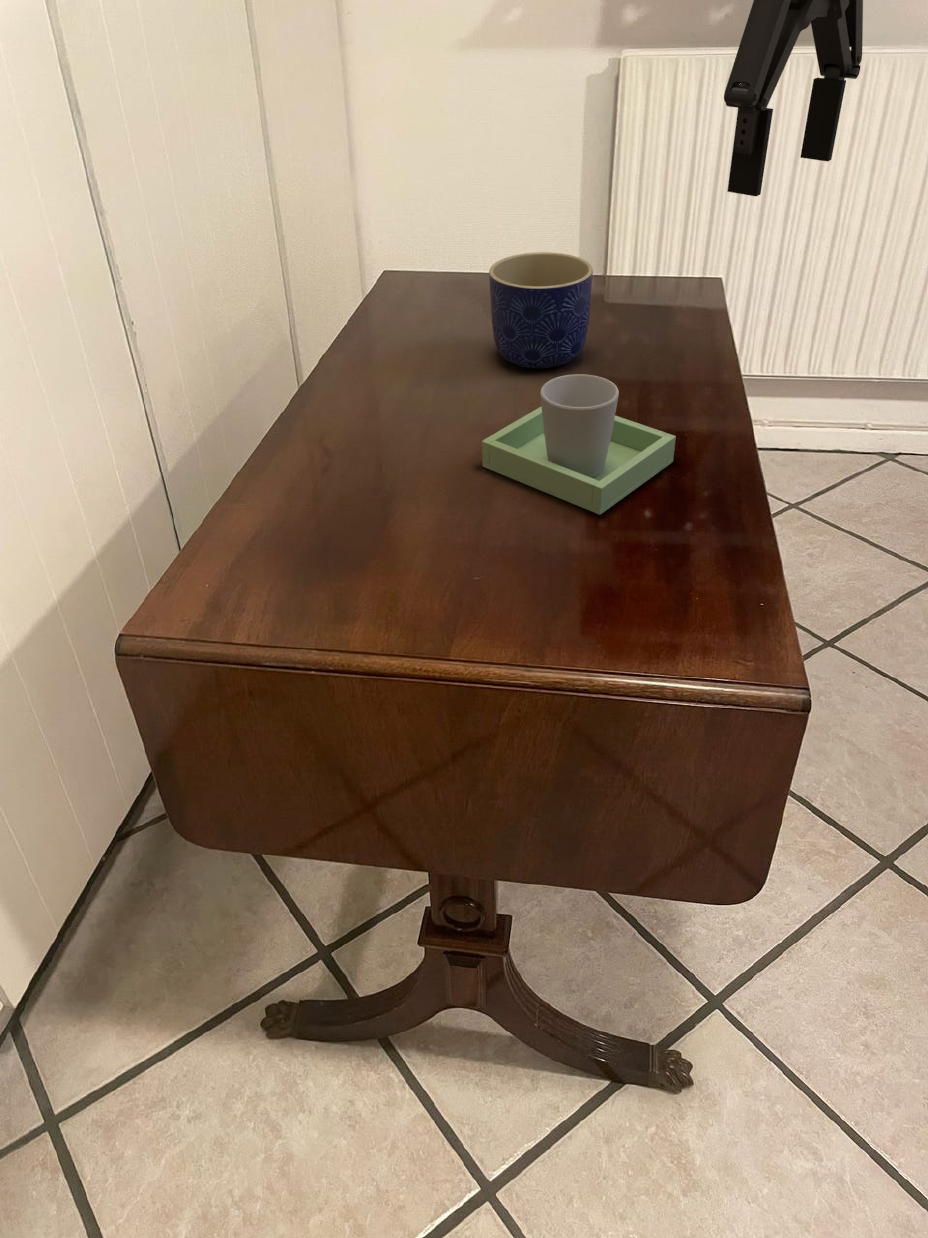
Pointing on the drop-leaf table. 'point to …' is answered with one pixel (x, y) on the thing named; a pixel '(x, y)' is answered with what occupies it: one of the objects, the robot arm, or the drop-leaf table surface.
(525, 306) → the planter
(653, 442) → the tray
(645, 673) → the drop-leaf table surface
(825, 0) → the robot arm
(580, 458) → the cup
